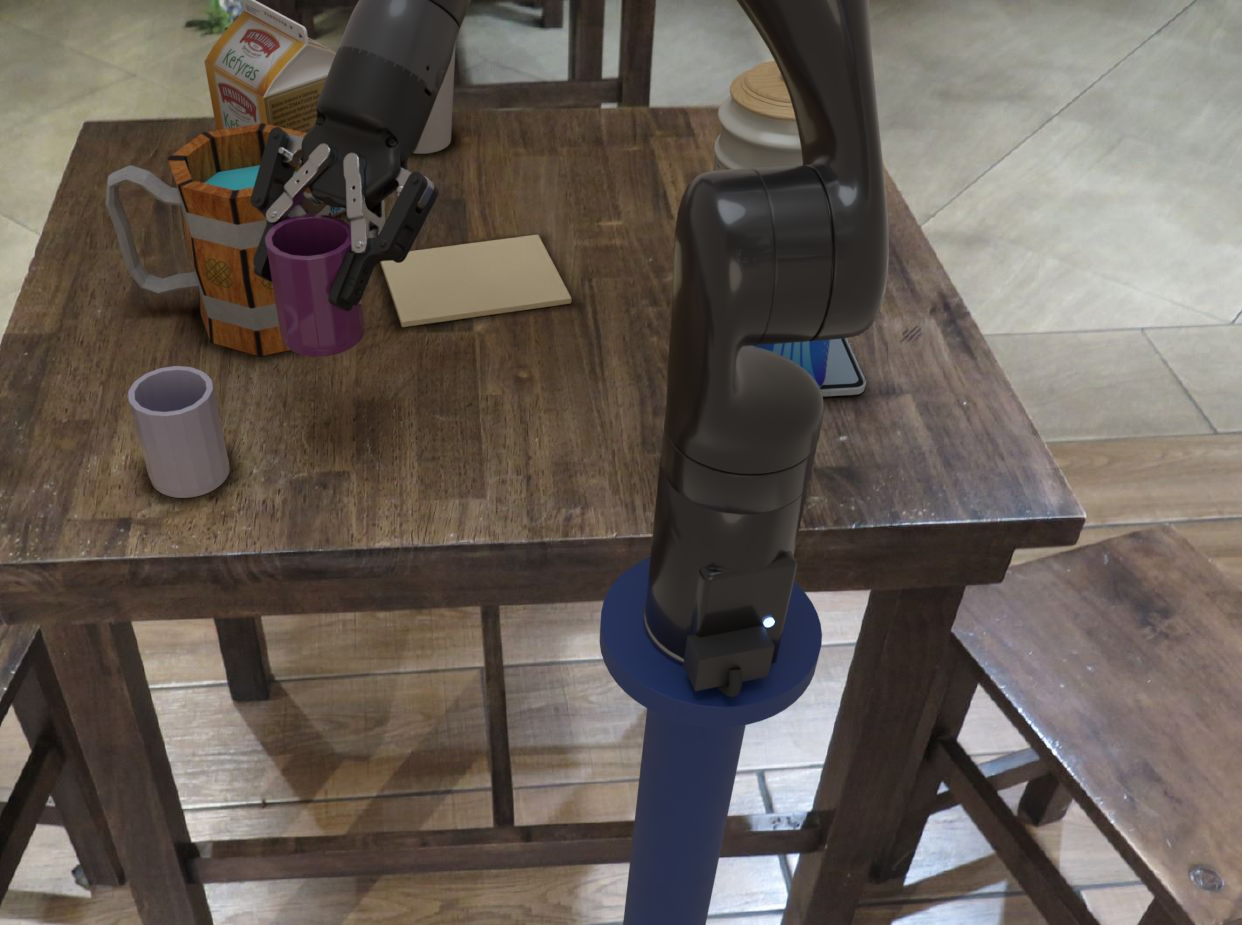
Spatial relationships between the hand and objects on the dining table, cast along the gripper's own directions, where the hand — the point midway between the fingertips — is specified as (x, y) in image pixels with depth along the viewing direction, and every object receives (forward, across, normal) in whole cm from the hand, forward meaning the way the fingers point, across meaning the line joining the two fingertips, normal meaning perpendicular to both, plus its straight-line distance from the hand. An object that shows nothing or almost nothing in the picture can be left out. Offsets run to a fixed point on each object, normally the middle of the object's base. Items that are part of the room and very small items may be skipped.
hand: (301, 292), depth 90 cm
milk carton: (-11, -29, +33) cm, 46 cm away
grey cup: (+16, -8, +6) cm, 19 cm away
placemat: (-9, -5, +31) cm, 33 cm away
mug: (+2, -20, +20) cm, 28 cm away
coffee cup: (-24, -26, +46) cm, 58 cm away
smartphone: (-14, +26, +36) cm, 46 cm away
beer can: (-9, +26, +31) cm, 41 cm away
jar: (-26, +14, +48) cm, 57 cm away
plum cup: (+2, 0, +4) cm, 5 cm away
